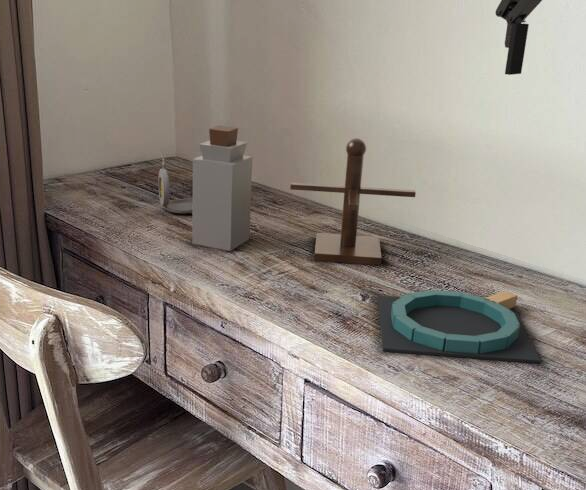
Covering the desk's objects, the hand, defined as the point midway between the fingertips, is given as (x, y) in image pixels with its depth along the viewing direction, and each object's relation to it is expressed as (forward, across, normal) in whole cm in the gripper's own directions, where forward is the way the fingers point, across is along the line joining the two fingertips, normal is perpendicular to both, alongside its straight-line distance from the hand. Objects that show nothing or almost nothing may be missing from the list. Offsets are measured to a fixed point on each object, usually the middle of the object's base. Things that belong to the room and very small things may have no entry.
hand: (557, 81), depth 106 cm
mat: (+29, +4, -20) cm, 35 cm away
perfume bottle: (+29, -39, -25) cm, 54 cm away
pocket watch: (+29, -57, -21) cm, 67 cm away
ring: (+28, +4, -19) cm, 34 cm away
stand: (+29, -24, -11) cm, 39 cm away
